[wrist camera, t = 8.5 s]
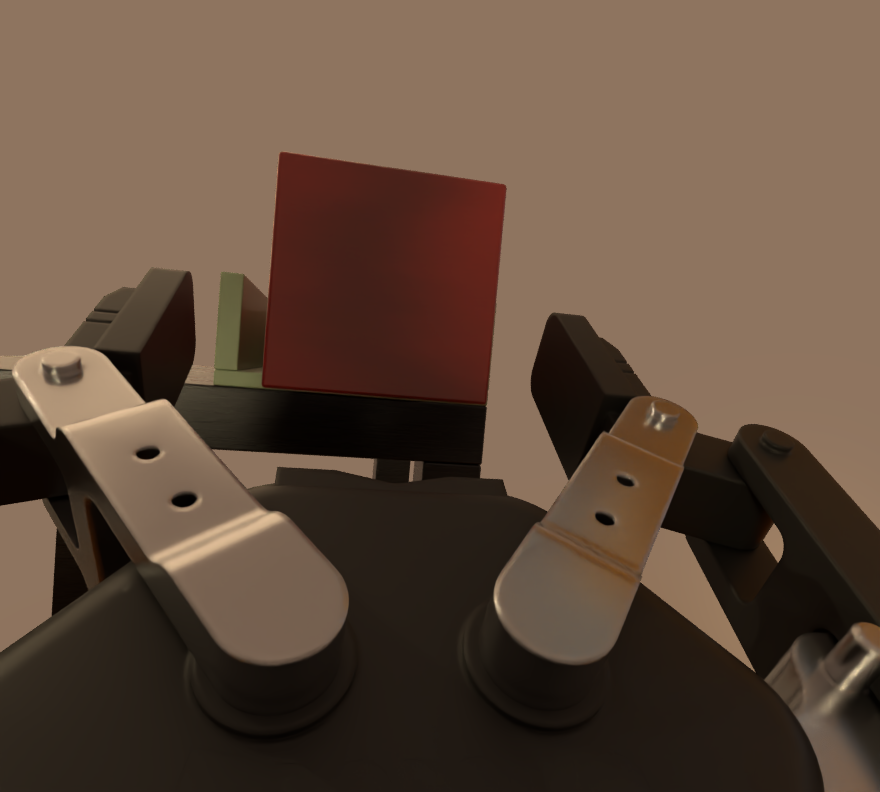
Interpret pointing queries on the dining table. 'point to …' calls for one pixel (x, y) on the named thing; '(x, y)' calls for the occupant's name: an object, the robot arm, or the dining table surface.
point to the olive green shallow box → (248, 336)
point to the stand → (313, 437)
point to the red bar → (382, 281)
